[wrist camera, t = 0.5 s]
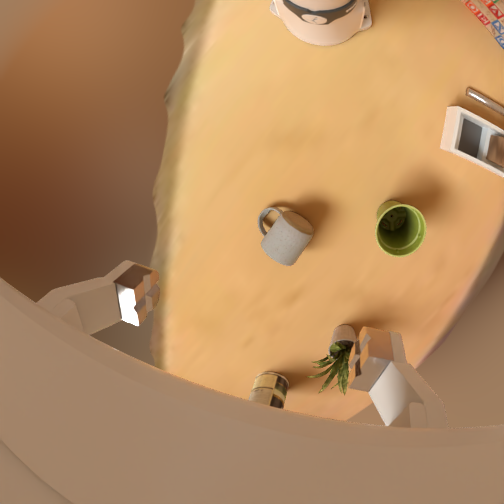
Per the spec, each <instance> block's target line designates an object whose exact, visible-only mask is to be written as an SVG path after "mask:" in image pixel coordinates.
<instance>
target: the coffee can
mask: <svg viewBox="0 0 504 504" xmlns="http://www.w3.org/2000/svg"><path fill="white" fill-rule="evenodd" d="M288 387H289V382H288V380H287V379H286V378H285V377H284V376H282V375H280V374H278V373H275V372H263V373H260V374H258V375H257V376H256V379H255V382H254V385H253V388H252V391H251V394H250V397H249V401H253V402H257V403H260V404H264V405H268V406H272V407H276V408H280V409H283V407H284V403H285V398H286V394H287V390H288Z"/></svg>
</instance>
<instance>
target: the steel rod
mask: <svg viewBox="0 0 504 504" xmlns="http://www.w3.org/2000/svg"><path fill="white" fill-rule="evenodd" d="M466 95H467V96H469V97H471V98H472V99H474V100H476V101H478V102H480V103H482V104H484V105H485V106H487V107H489V108H491V109H493V110H494V111H496V112H498V113H499V114H501V115H503V116H504V107H502V106H501V105H499V104H497V103H496V102H494V101H492V100H490V99H489V98H487V97H485V96H483V95H482V94H480V93H478V92H476V91H474V90H472V89H470V88H467V89H466Z"/></svg>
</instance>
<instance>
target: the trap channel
mask: <svg viewBox="0 0 504 504" xmlns="http://www.w3.org/2000/svg"><path fill="white" fill-rule="evenodd" d="M491 135H494V136H499V137H504V130H502V129H501V128H499V127H497V126H495V125H494V124H492V123H490V122H488V121H487V120H485V119H483V118H481V117H479V116H477V115H475V114H473V113H471V112H469V111H467V110H465V109H463V108H461V107H459V106H451V107H447V112H446V118H445V124H444V130H443V135H442V140H441V145H440V149H443V150H445V151H448V152H450V153H452V154H455V155H457V156H459V157H462V158H464V159H466V160H468V161H470V162H472V163H475V164H477V165H479V166H481V167H483V168H485V169H487V170H489V171H491V172H493V173H495V174H497V175H499V176H501V177H503V178H504V168H502V167H500V166H499V165H497V164H495V163H493V162H491V161H489V160H487V159H486V156H487V152H488V147H489V141H490V136H491Z"/></svg>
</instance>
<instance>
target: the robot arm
mask: <svg viewBox="0 0 504 504" xmlns="http://www.w3.org/2000/svg"><path fill="white" fill-rule="evenodd" d="M270 11H271V12H272V13H273V14H274V15H275V16H277V17H279V18H280V19H281V20H282V21H283V22H284V24H285V26H286V27H287V29H288V30H289V31H290V32H291V33H292V34H293V35H294V36H296V37H297V38H299V39H301V40H303V41H305V42H308V43H311V44H315V45H323V46H328V45H335V44H339V43H342V42H344V41H346V40H348V39H349V38H351V37H352V36H353V35H354V34H355V33H357V32H358V31H362V30H366V29H368V28H370V27H371V26H372V19H371V13H370V7H369V2H368V0H272V2H271V5H270ZM364 16H365V17H367V18H366V19H365V18H364ZM158 280H159V273H158V272H157V270H154V269H151V268H148V267H146V266H143V265H140V264H136V263H134V262H131V261H124V262H122V263H121V264H120V265H119V266H117V267H116V268H115V269H114V270H112V271H111V272H110V273H109V274H107V275H106V276H105V277H104V278H101V277H100V278H95V279H92V280H87V281H84V282H80V283H76V284H72V285H68V286H64V287H61V288H56V289H53V290H52V291H51V292H49V293H48V294H47V295H46V296H44V297H43V298H42V299H41V300H39V301H38V302H37V303H34V302H33V301H32V300H30V299H29V298H27V297H26V296H25V295H23V294H22V293H20V292H19V291H17V290H16V289H15V288H13V287H12V286H11V285H9V284H8V283H7V282H5V281H4V280H3V279H1V278H0V504H504V424H503V425H495V426H484V427H470V428H448V423H447V417H446V411H445V406H444V403H443V402H442V401H441V400H440V398H439V397H438V396H437V395H436V393H435V392H434V391H433V390H432V389H431V388H430V386H429V385H428V384H427V383H426V382H425V380H424V379H423V378H422V377H421V376H420V375H419V374H418V372H417V371H416V370H415V369H414V368H413V367H412V365H411V364H408V363H407V361H406V356H405V351H404V346H403V341H402V337H401V334H400V333H398V332H392V331H384V330H379V329H375V328H370V327H365V326H364V327H363V328H362V329H361V331H360V333H359V340H358V341H356V342H355V343H354V345H353V347H352V350H351V353H350V357H349V366H350V368H351V369H352V370H351V371H350V373H349V383H348V388H351V389H356V390H361V391H367V392H369V395H370V397H371V399H372V400H373V402H374V404H375V406H376V408H377V410H378V412H379V413H380V415H381V417H382V419H383V421H384V423H385V425H386V426H380V425H371V424H362V423H354V422H347V421H340V420H334V419H328V418H323V417H317V416H312V415H307V414H302V413H297V412H293V411H288V410H284V409H280V408H276V407H272V406H268V405H264V404H260V403H257V402H253V401H249V400H246V399H242V398H239V397H236V396H232V395H229V394H226V393H223V392H220V391H217V390H214V389H211V388H208V387H205V386H202V385H199V384H197V383H194V382H191V381H188V380H186V379H183V378H180V377H178V376H175V375H173V374H170V373H168V372H165V371H163V370H161V369H158V368H156V367H153V366H151V365H149V364H147V363H144V362H142V361H140V360H138V359H135V358H133V357H131V356H129V355H127V354H125V353H123V352H121V351H118V350H116V349H114V348H112V347H110V346H108V345H106V344H104V343H102V342H101V341H99V340H97V339H95V338H93V337H91V336H89V335H91V334H93V333H95V332H97V331H99V330H102V329H104V328H106V327H108V326H111V325H113V324H115V323H117V322H119V321H121V319H122V320H124V321H127V322H129V323H132V324H134V325H137V326H139V325H140V324H141V323H142V322H143V320H144V319H145V318H146V317H147V312H148V311H150V310H153V309H154V308H155V306H156V305H157V303H158V300H159V296H160V288H159V287H158V285H157V284H156V283H157V281H158Z"/></svg>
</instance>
